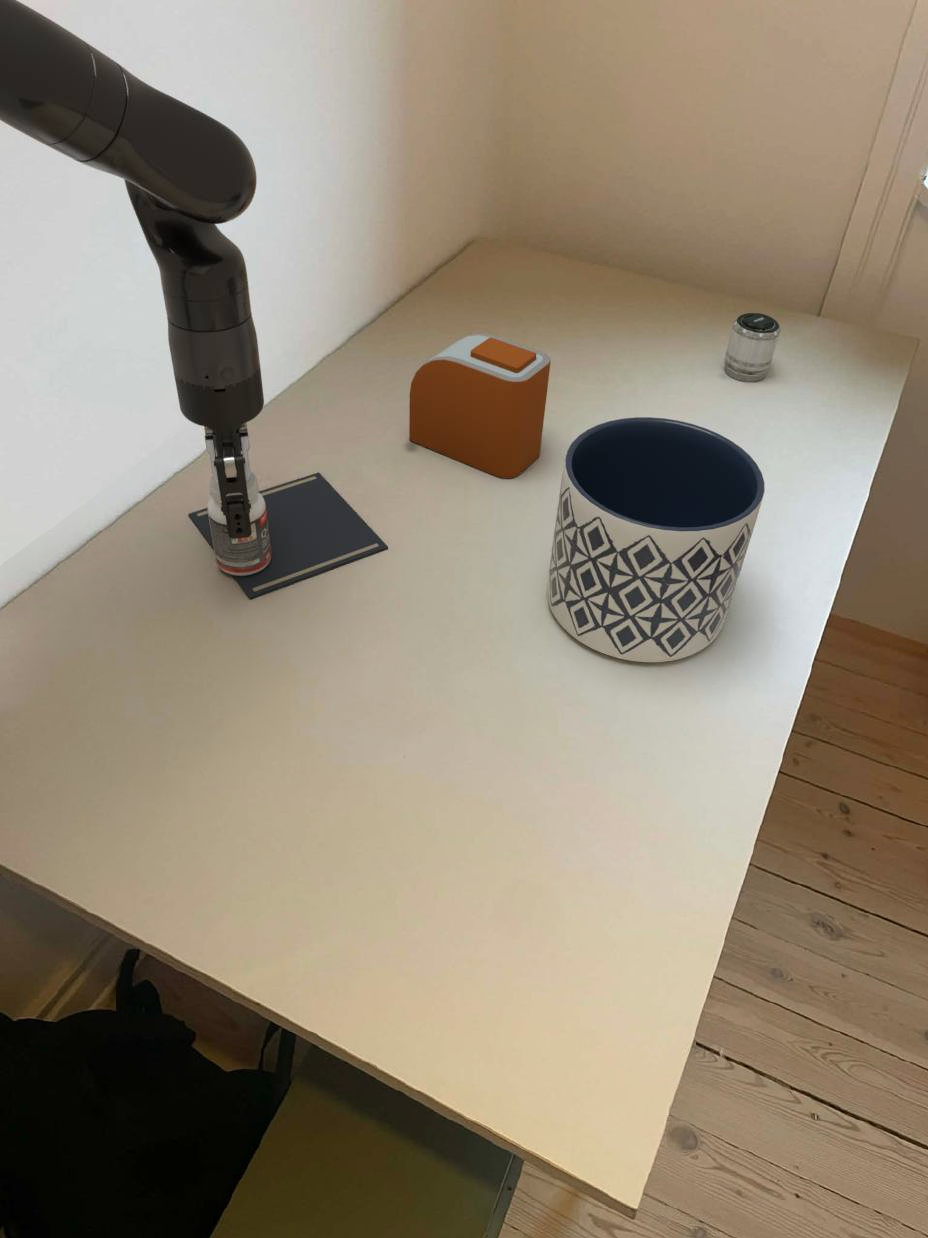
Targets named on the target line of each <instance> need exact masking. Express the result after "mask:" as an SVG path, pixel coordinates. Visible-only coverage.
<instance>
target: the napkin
mask: <svg viewBox="0 0 928 1238" xmlns="http://www.w3.org/2000/svg"><path fill="white" fill-rule="evenodd" d="M258 492H259V493H260V494H261V495H262V497H263V498H264V501H265V504H266V512H267V520H268V530H269V537H270V545H271V560H270V562H269V564H268V565H267V566H266V567H265V568H264V569H263V570H261V571H259V572H257V573H254V574H251V575H245V576H237V575H232V574H230V575H231V576H232V577H233V579H234V580H235V582H236V583H237V584H238V586H239V587H240V589H241V590H242V591H243V592H244V594H245V596H246V597H247V598H248V599H249V600H253V599H255V598H258V597H260V596H263V595H267V594H269V593H272V592H274V591H277V590H280V589H282V588H286V587H288V586H290V585H294V584H296V583H299V582H302V581H304V580H307V579H310V578H313V577H316V576H318V575H320V574H323V573H326V572H329V571H331V570H334V569H337V568H340V567H343V566H345V565H348V564H350V563H353V562H357V561H358V560H361V559H364V558H367V557H370V556H372V555H375V554H377V553H380V552H384V551H386V550H388V549H389V546H388V545H387V544H386V542H384V541H383V540H382V538H381V537H380V536H379V535H378V534H377V533H376V531H374V529H372V528H371V526H369V525H368V523H367V522H366V521H365V520H364V519H363V518H362V517H361V516H360V514H358V513H357V512H356V511H355V509H354V508H353V507H352V506H351V505H350V504H349V503H348V501H346V500H345V498H343V496H342V495H341V494H340V493H339V492H338V491H337V490H336V489H335V488H334V487H333V486H332V485H331V484H330V483H329V481H328V480H327V479H326V478H325V477H324V476H323V475H322V473H320V472H316V473H312V474H309V475H306V476H303V477H300V478H296V479H294V480H291V481H286V482H284V483H280V484H278V485H274V486H271V487H269V488H265V489H262V490H259V491H258ZM187 515H188V518H189V519H190V520H191V521H192V523H193V524H194V526H195V527H196V528H197V530H198V531H199V533H200V534H201V535H202V537H203V538H204V539H205V541H206V542H207V543H208V545H209V546H210V547H211V549H212V550H213V551H214V546H213V540H212V534H211V528H210V522H209V516H208V507H205V508H202V509H199V510H196V511H192V512H189V513H188V514H187Z"/></svg>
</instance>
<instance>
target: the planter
mask: <svg viewBox="0 0 928 1238" xmlns="http://www.w3.org/2000/svg"><path fill="white" fill-rule="evenodd" d="M562 468H563V469H562V474H561V481H560V488H559V494H558V495H559V496H558V502H557V509H556V510H557V511H556V517H555V523H554V524H555V526H554V531H553V539H552V546H551V554H550V560H549V567H548V576H547V584H546V598H547V602H548V606H549V608H550V610H551V612H552V615H553V616H554V618H555V619H556V621H557V622H558V623H559V625H560V626H561V627H562V628H563V630H565V631H566V632H567V633H568V634H569V635H571V636H572V637H573V638H574V639H576V641H578V642H580V643H582V644H583V645H585V646H586V647H589V649H590V648H591V649H592V650H594V651H597V652H598V653H601V654H604V655H607V656H610V657H613V658H615V659H619V660H620V659H621V660H624V661H625V660H626V661H630V662H639V663H664V662H671V661H677V660H681V659H684V658H687V657H690V656H693V655H694V654H697V653H699V652H700V651H702V650H703V649H705V648H706V647H708V646H709V645H711V644H712V643H713V641H714V640H715V639H717V637H718V636H719V634H720V633H721V630H722V629H723V627H724V624H725V621H726V618H727V615H728V611H729V608H730V605H731V602H732V600H733V596H734V593H735V590H736V587H737V583H738V580H739V576H740V573H741V571H742V568H743V565H744V561H745V557H746V554H747V551H748V548H749V545H750V542H751V539H752V535H753V533H754V529H755V525H756V522H757V519H758V516H759V512H760V509H761V505H762V502H763V499H764V496H765V490H766V489H765V487H766V486H765V480H764V479H765V478H764V476H763V473H762V471H761V469H760V468H759V465H758V464H757V462H756V461H755V460H754V459H753V457H752V456H751V455H750V454H749V453H748V452H747V451H746V450H745V449H743V448H742V447H741V446H740V445H738V444H736V443H735V442H734V441H732V440H731V439H729V438H727V437H725V436H724V435H722V434H720V433H718V432H715V431H713V430H710V429H708V428H706V427H702V426H699V425H697V424H693V423H690V422H685V421H681V420H678V419H677V420H676V419H671V418H664V417H652V416H651V417H650V416H649V417H648V416H647V417H646V416H645V417H644V416H643V417H642V416H641V417H640V416H639V417H638V416H637V417H636V416H635V417H625V418H619V419H613V420H609V421H605V422H603V423H599V424H596V425H594V426H592V427H591V428H588V429H586V430H585V431H583V432H582V433H581V434H579V435H578V436H577V437H576V438H575V439H574V440H573V441H572V442H571V444H570V445H569V447H568V449H567V450H566V453H565V457H564V462H563V467H562Z"/></svg>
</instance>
